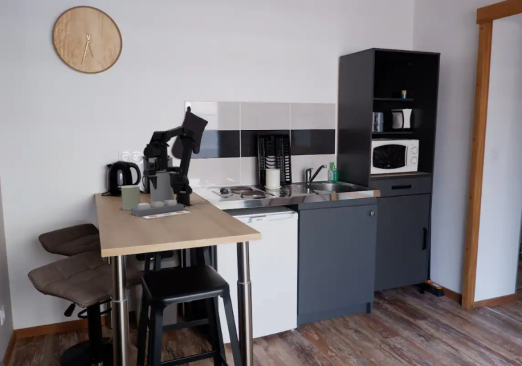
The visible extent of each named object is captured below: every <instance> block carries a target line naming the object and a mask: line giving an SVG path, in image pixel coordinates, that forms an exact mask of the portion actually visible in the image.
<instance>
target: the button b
mask: <svg viewBox="0 0 522 366" xmlns="http://www.w3.org/2000/svg"><path fill="white" fill-rule="evenodd" d="M164 203H165V205H167V206H171V205H177V201H176V199H174V200H165V201H164Z"/></svg>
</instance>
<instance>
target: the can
mask: <svg viewBox="0 0 522 366" xmlns="http://www.w3.org/2000/svg"><path fill="white" fill-rule="evenodd" d="M140 187H141V186H140V185H139V184H137V185H136V184H135V185H134V184H133V185H131V184H130V185H122V186H121V201H122V204H121V205H122V206H121V207H122V210H123V211H131V208H134V207H138V204H141V193H140V192H141V191H140V190H141V189H140Z"/></svg>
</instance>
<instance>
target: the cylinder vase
mask: <svg viewBox="0 0 522 366" xmlns="http://www.w3.org/2000/svg"><path fill="white" fill-rule="evenodd" d="M155 159H156V158H149V159H148V162H152V163H154V160H155ZM168 159H170V161H168V167H172V166H174V164H173V157H171V156H168ZM169 173H170V172H165V173H157V174H156V175H155V176H157V189H156V190H155V189H154V187H153V184H152V182H151V180H150V179H149V189H150V203H151V202H157V201H161V202H164V201H165V200H175V194H174V192H173V189H172V187H171V186H170V176H169ZM164 204H165V203H164Z"/></svg>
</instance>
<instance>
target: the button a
mask: <svg viewBox="0 0 522 366" xmlns="http://www.w3.org/2000/svg"><path fill="white" fill-rule="evenodd" d="M150 205H151V203H148V202H143V203H141V202H140V204H138V209H148V208H150Z"/></svg>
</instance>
